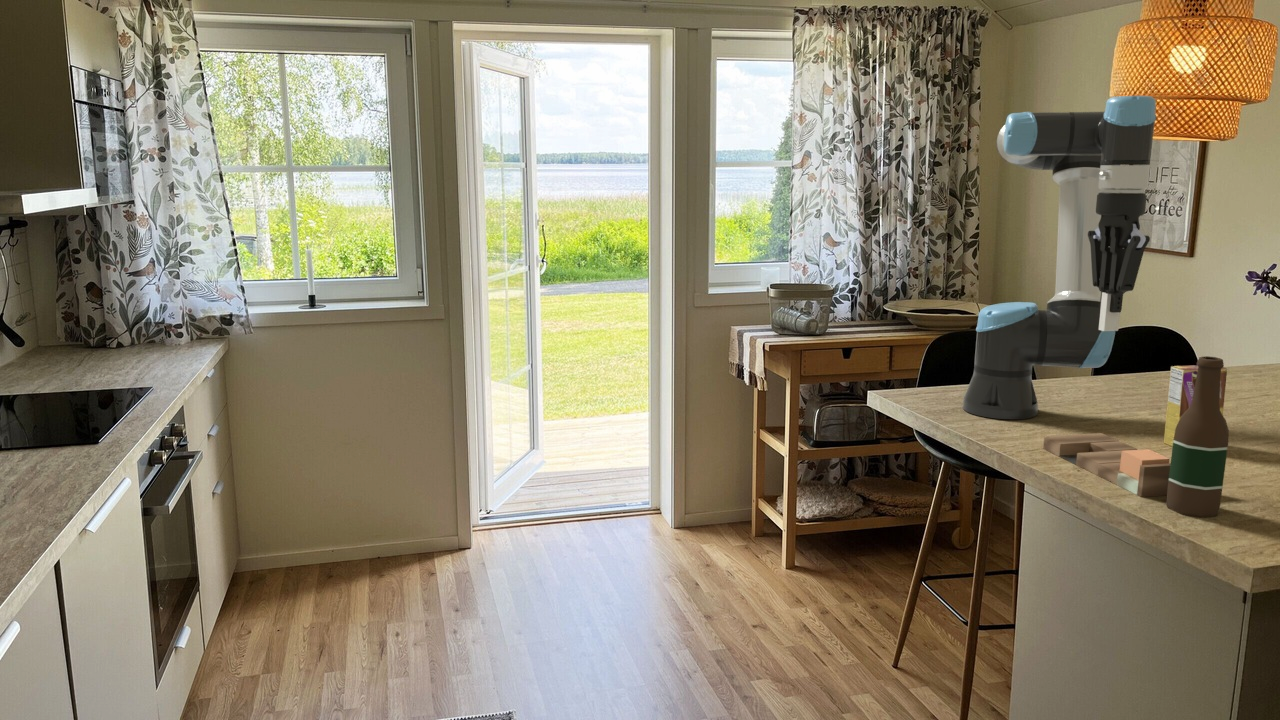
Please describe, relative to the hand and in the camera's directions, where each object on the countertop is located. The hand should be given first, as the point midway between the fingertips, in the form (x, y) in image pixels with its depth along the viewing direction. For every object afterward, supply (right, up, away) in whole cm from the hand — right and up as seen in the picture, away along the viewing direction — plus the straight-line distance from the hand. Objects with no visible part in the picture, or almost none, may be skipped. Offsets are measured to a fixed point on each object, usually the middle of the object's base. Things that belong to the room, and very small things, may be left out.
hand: (1108, 330), depth 168 cm
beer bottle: (+5, -29, -16) cm, 33 cm away
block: (+3, -24, -7) cm, 25 cm away
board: (+3, -24, +4) cm, 25 cm away
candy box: (+24, -22, +17) cm, 37 cm away
